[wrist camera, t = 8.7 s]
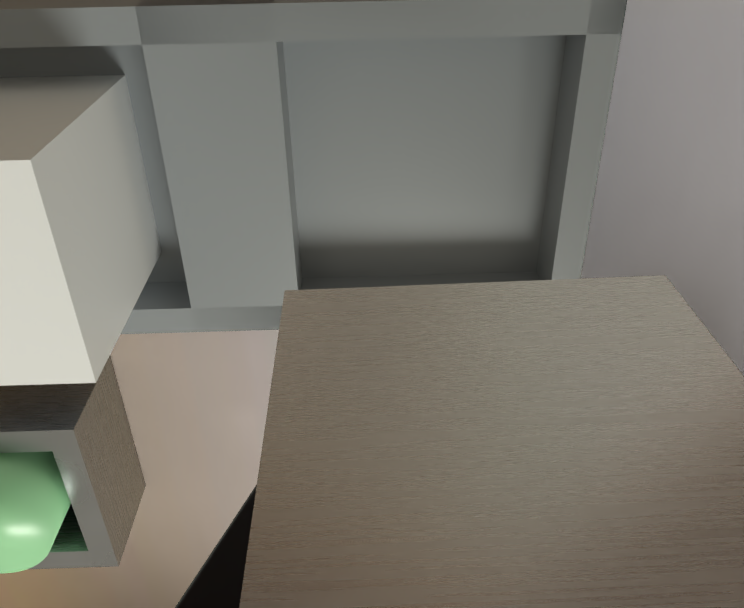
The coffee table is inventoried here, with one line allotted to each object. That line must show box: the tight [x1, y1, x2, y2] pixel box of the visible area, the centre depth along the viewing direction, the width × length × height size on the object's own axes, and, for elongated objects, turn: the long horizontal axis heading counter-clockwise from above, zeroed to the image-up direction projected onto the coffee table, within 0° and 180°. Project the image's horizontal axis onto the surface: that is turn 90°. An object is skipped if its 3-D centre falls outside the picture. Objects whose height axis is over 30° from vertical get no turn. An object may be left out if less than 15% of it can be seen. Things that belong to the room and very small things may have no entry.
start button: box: [0, 451, 71, 573], centre depth 22 cm, size 4×4×4 cm
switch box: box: [0, 356, 146, 569], centre depth 22 cm, size 6×6×4 cm
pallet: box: [0, 0, 627, 386], centre depth 16 cm, size 19×9×6 cm, turn 91°
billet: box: [239, 275, 744, 608], centre depth 8 cm, size 5×5×6 cm
